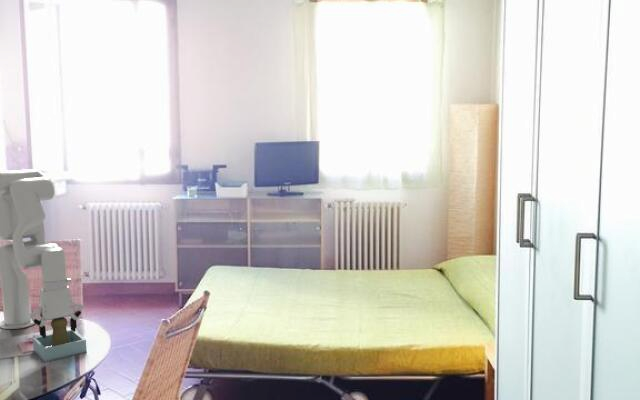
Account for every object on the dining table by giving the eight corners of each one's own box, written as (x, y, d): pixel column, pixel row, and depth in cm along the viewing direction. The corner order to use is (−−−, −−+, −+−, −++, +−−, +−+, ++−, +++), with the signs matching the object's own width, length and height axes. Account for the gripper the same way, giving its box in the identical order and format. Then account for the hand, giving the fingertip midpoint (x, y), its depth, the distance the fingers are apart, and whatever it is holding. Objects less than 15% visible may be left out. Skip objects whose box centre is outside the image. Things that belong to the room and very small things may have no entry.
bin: (33, 350, 228) (32, 337, 227) (74, 341, 236) (73, 329, 236) (44, 362, 217) (43, 349, 217) (86, 352, 225) (85, 339, 225)
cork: (64, 353, 224) (62, 321, 222) (47, 352, 225) (45, 320, 223) (74, 346, 230) (71, 315, 228) (58, 345, 231) (55, 314, 229)
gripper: (77, 278, 231) (80, 325, 234) (24, 286, 221) (28, 336, 224) (84, 282, 226) (88, 331, 228) (30, 291, 215) (34, 342, 218)
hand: (58, 333), depth 226 cm, fingers open, 9 cm apart
